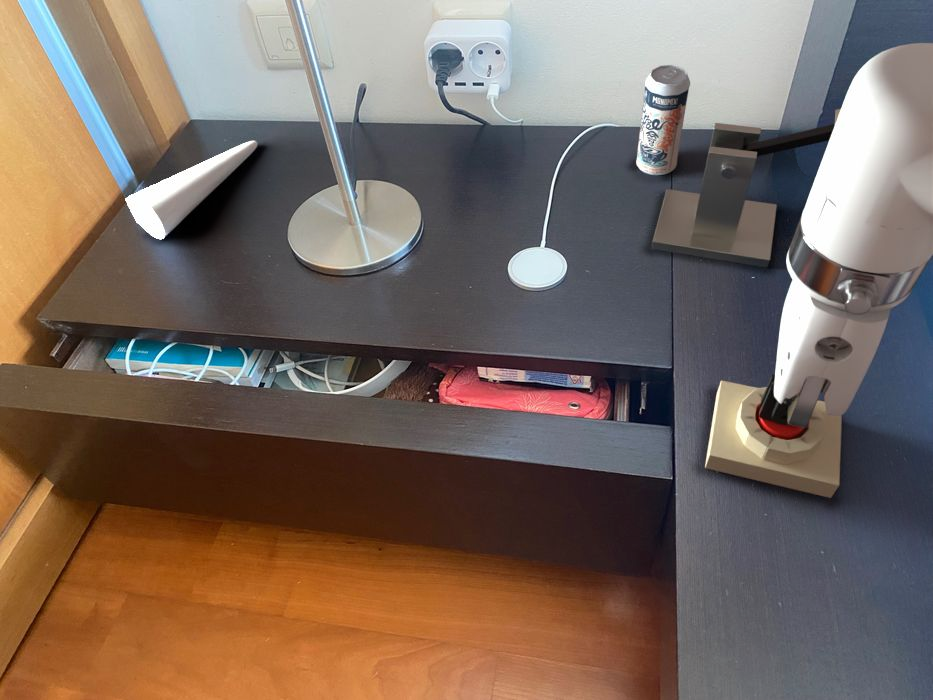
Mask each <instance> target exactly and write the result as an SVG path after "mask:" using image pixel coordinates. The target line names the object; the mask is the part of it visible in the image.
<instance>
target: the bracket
mask: <svg viewBox="0 0 933 700" xmlns="http://www.w3.org/2000/svg"><path fill="white" fill-rule="evenodd" d="M761 133H762V128H761V127H756V126H747V125H738V124H730V123H720V122H715V123H714V125H713V131H712V135H711V141H710V145H709V149H708V153H707V158H706V161H705V162H706V163H705V168H704V173H703V176H702V183H701V187H700V191H699V192H698V193H697V192H689V191H683V190H677V189H676V190H675V189H668V188H667V189H665V193H664V197H663V200H662V204H661V208H660V211H659V212H660V213H659V216H658V220H657V223H656V227H655V231H654V235H653V238H652V242H651V250H656V251H661V252H668V253H673V254H678V255H679V254H680V255H686V256H691V257H699V258H705V259H710V260H717V261H723V262H729V263H735V264H742V265H747V266H755V267H760V268H764V269H765V268H766V269H767V268H768V267H769V265H770V261H771V257H772V248H773V240H774V231H775V224H776V215H777V208H778V205H777V203H769V202H762V201H754V200H748V199H747V195H748V191H749V188H750V184H751V180H752V176H753V172H754V169H755V165H756V162H757V157H758V156H757V152H753V151H745V150H737V149H728V148H720V147H715V143H716V142H719V141H723V140H728V139H732V138H736V137H740V136H745V139H746V143H747V144H751V143H755V142H759V141H760V137H761Z"/></svg>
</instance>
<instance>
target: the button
mask: <svg viewBox="0 0 933 700" xmlns="http://www.w3.org/2000/svg"><path fill="white" fill-rule="evenodd" d="M759 414H760V411H759ZM759 414H758V416H757V418H756V421H757V422H758V424H759V426H760V428H761V429H762V430H763V431H765V432H766V433H768V434H769V435H770V436H772V437H774V438H779V439H784V440H791V439H796V438H799V437H800V435H801V433H802V431H803V429H804V428H803V427H799V426H792V425H782V424H777V423H775V422H773V421H769V420H765V419H761V418H760V417H759Z"/></svg>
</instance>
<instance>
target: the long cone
mask: <svg viewBox="0 0 933 700" xmlns="http://www.w3.org/2000/svg"><path fill="white" fill-rule="evenodd" d="M257 147H258V142H257V141H256V140H250V141H247V142H244V143H242V144H240V145H237V146H235V147H233V148H230V149H229V150H226V151H225V152H223V153H219V154H218V155H215V156H214V157H212V158H209V159H207V160H205V161H203V162H201V163H199V164H196V165H194V166H192V167H190V168H187V169H186V170H183V171H181V172H179V173H177V174H175V175H172V176H171V177H169V178H166V179H163V180H161V181H160V182H158V183H156V184H153V185H150V186H149V187H146V188H144V189H141V190H139V191H138V192H136V193H135V192H134V194H131V195H129V196H128V197H126V198H125V201H126V203H127V206H128V208H129V209H130V212H131V214H132V216H133V217H134V219H135V221H136V223H137V224H139V225H140V226H141V228H143V229H144V230H145V231H146V232H147V233H148V234H149V235H150V236H152V237H154V238H156V239H159V240H162V239H163V240H164V239H165V237H167V236H168V234H170V233H171V232H172V231H173V230H174V229H175V228H176V227H177V226H178V225H179V224H181V222H182V221H183V220H184V219H185V218H186V217H187V216H188V215H190V213H192V212H193V211H194V210H195V209H196V208H197V207H198V206H199V205H200V204H201V203H202V202H203V201H204V200H205V199H206V198H207V197H208V196H209V195H210V194H211V193H212V192H214V190H215V189H216V188H217V187H218V186H220V184H222V183H223V182H224V181H225V180H226V179H227V178H228V177H229V176H230V175H231V174H232V173H233V172H234V171H235V170H236V169H237V168H238V167H240V165H241V164H243V163H244V161H246V160H247V159H248V158H249V157H250V156H251V155H252V154H253V152H254V151H256V149H257Z"/></svg>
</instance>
